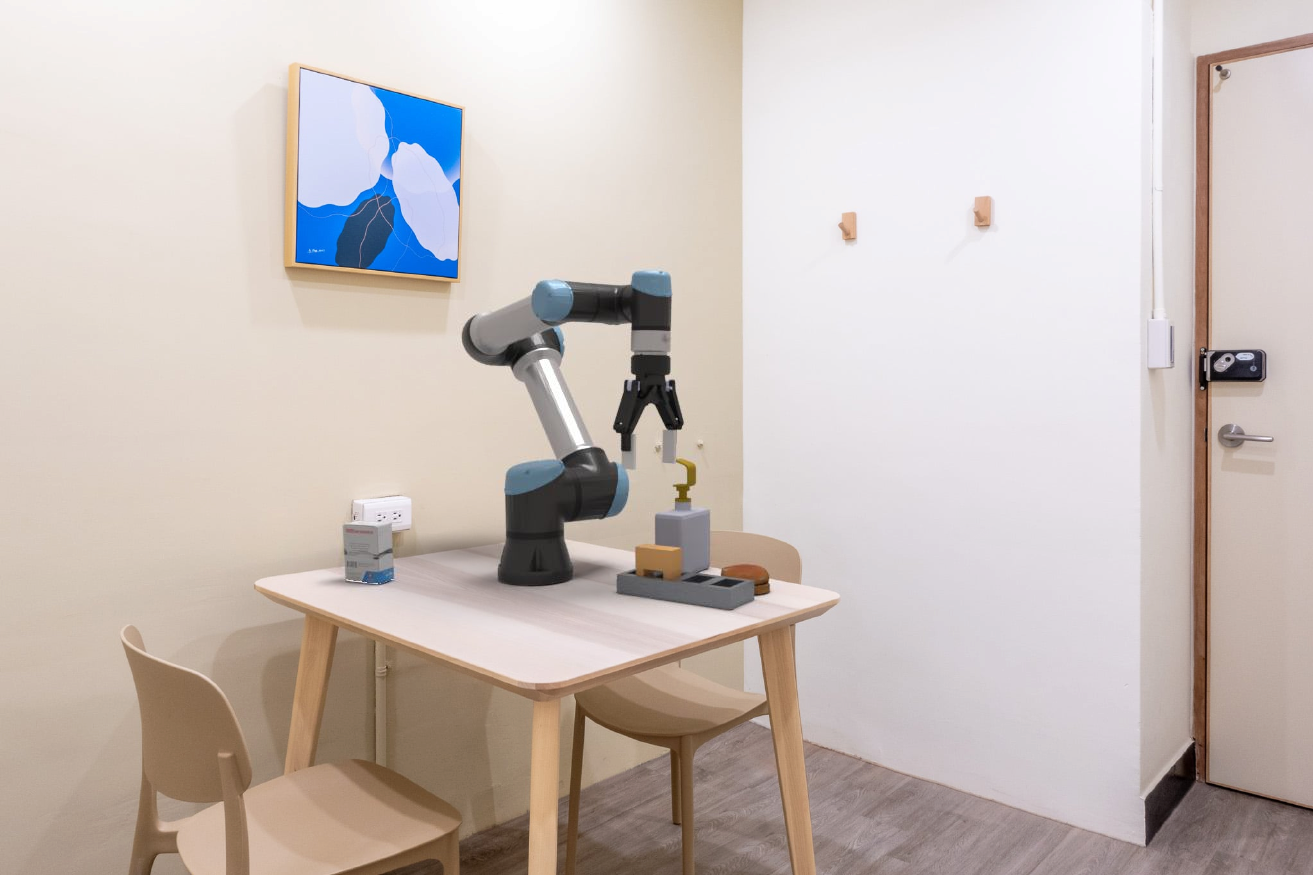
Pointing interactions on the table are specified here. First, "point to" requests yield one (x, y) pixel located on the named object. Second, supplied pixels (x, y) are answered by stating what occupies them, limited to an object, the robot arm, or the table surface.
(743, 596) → the grey compartment tray
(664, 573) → the orange bridge block
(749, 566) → the burger
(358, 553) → the ink box
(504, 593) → the table surface
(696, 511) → the soap bottle
